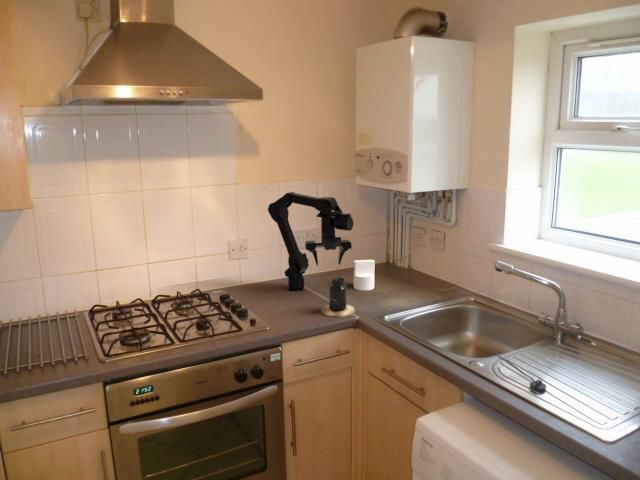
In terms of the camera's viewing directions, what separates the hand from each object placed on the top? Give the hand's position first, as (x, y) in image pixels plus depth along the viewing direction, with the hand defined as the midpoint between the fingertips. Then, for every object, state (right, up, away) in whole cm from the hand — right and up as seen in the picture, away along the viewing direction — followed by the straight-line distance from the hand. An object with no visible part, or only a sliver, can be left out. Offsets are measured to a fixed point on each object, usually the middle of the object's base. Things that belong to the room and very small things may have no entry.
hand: (328, 264), depth 225 cm
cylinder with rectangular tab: (+16, -11, +13) cm, 23 cm away
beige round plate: (+3, -17, -16) cm, 24 cm away
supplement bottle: (+3, -16, -16) cm, 23 cm away
